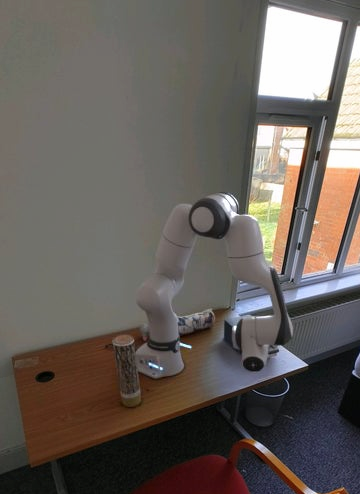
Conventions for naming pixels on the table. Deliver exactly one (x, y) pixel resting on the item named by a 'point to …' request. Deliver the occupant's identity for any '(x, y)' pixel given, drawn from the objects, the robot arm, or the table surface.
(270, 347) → the drawer
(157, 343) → the robot arm
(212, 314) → the pencil case
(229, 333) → the cabinet
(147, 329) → the dog figurine
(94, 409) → the table surface
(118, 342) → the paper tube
